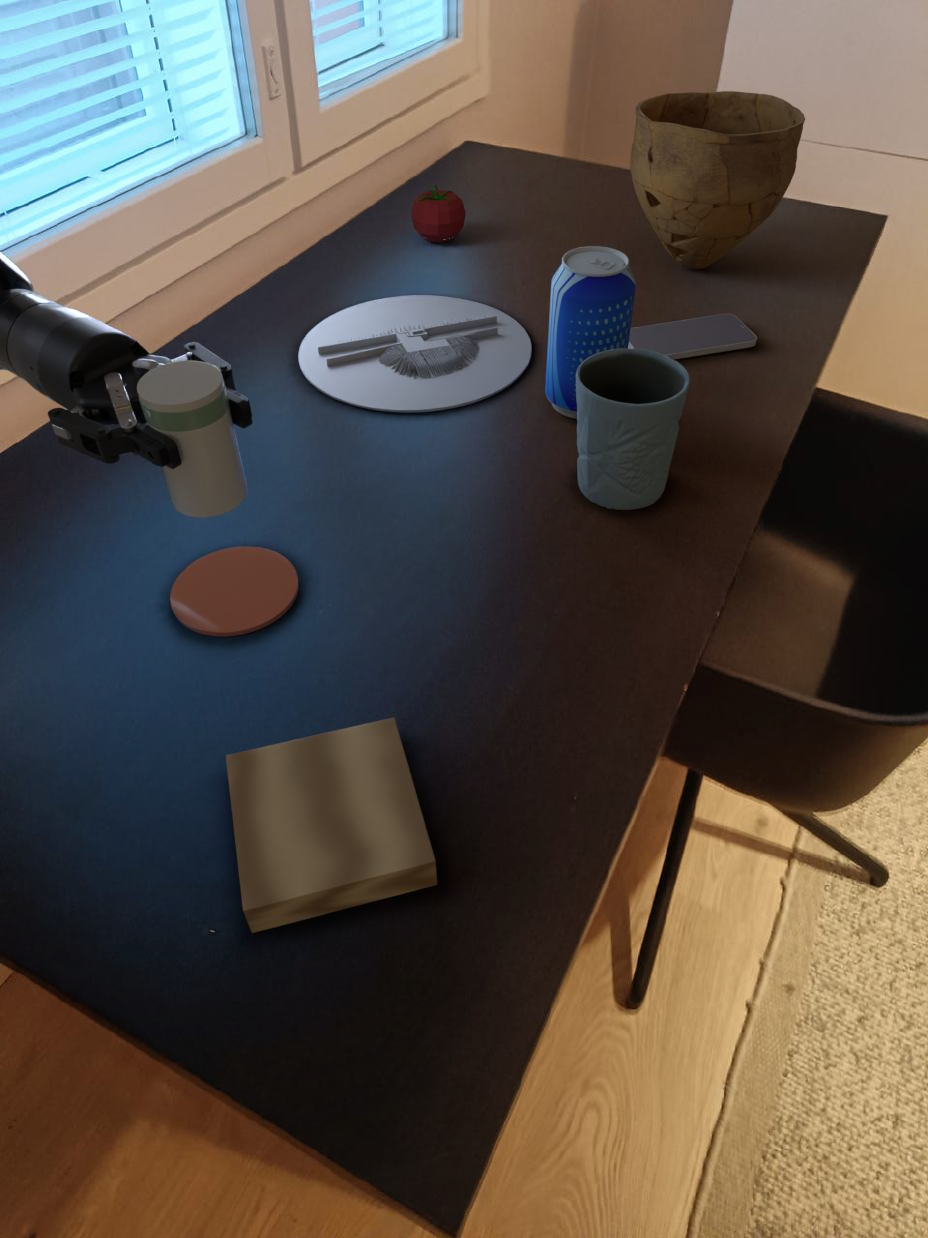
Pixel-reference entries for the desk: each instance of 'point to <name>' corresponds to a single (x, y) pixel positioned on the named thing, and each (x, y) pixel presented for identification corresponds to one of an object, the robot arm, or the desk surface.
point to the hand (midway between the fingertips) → (212, 435)
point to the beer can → (586, 317)
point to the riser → (326, 824)
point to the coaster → (234, 591)
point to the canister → (196, 436)
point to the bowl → (712, 167)
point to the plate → (415, 353)
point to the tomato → (438, 215)
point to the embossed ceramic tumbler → (627, 425)
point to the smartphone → (693, 336)
